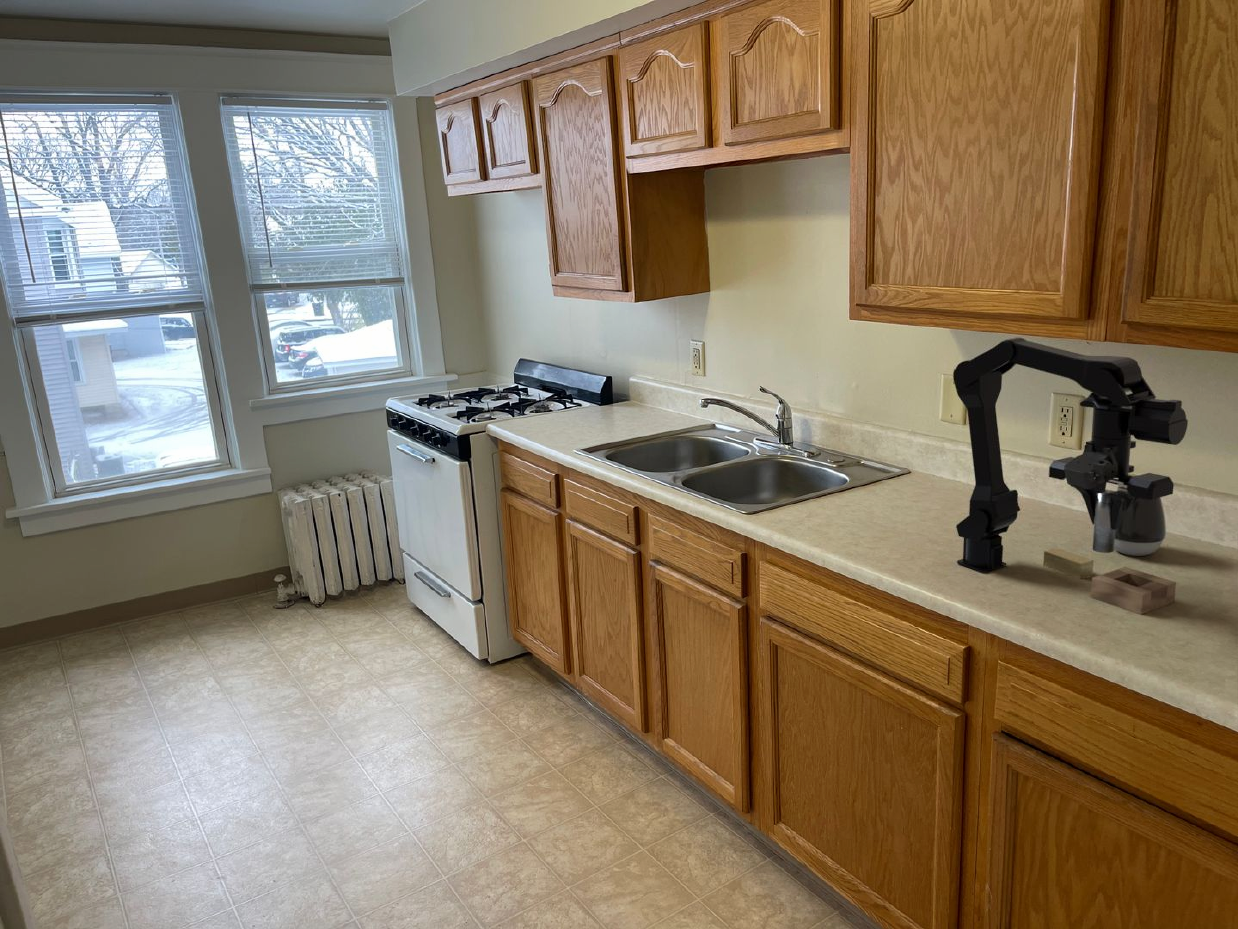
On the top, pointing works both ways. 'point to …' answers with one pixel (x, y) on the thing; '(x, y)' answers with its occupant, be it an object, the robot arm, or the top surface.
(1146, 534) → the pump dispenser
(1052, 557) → the square bit
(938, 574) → the top surface
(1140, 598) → the socket block
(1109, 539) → the cylinder
